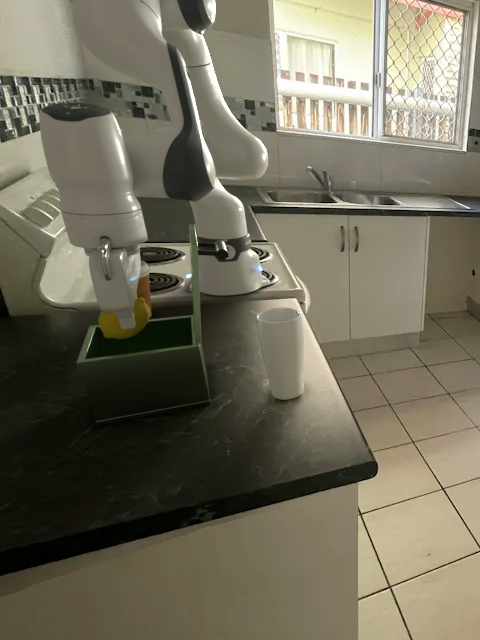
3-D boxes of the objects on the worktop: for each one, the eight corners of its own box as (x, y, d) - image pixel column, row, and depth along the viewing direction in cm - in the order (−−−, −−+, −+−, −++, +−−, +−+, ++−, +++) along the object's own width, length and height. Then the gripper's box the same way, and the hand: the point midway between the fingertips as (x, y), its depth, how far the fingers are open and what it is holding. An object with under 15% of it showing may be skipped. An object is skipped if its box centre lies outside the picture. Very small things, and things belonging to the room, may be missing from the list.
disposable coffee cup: (104, 328, 99) (89, 273, 94) (109, 312, 106) (94, 260, 101) (160, 322, 104) (148, 269, 99) (161, 307, 111) (149, 257, 106)
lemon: (105, 349, 70) (144, 309, 70) (76, 324, 70) (115, 284, 70) (132, 349, 75) (168, 312, 76) (106, 326, 75) (142, 289, 76)
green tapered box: (97, 426, 71) (76, 362, 66) (106, 383, 81) (89, 325, 76) (210, 404, 78) (198, 346, 74) (206, 367, 88) (195, 314, 84)
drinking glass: (299, 379, 88) (291, 304, 82) (315, 395, 84) (308, 317, 77) (260, 390, 83) (249, 312, 77) (275, 408, 79) (264, 326, 73)
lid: (191, 244, 68) (230, 247, 71) (188, 224, 78) (223, 226, 81) (195, 343, 73) (231, 342, 76) (192, 312, 84) (224, 312, 86)
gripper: (130, 246, 61) (153, 342, 67) (139, 214, 77) (157, 294, 83) (66, 249, 58) (96, 349, 64) (88, 215, 74) (111, 298, 79)
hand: (130, 318), depth 73 cm, fingers closed on lemon, 5 cm apart
